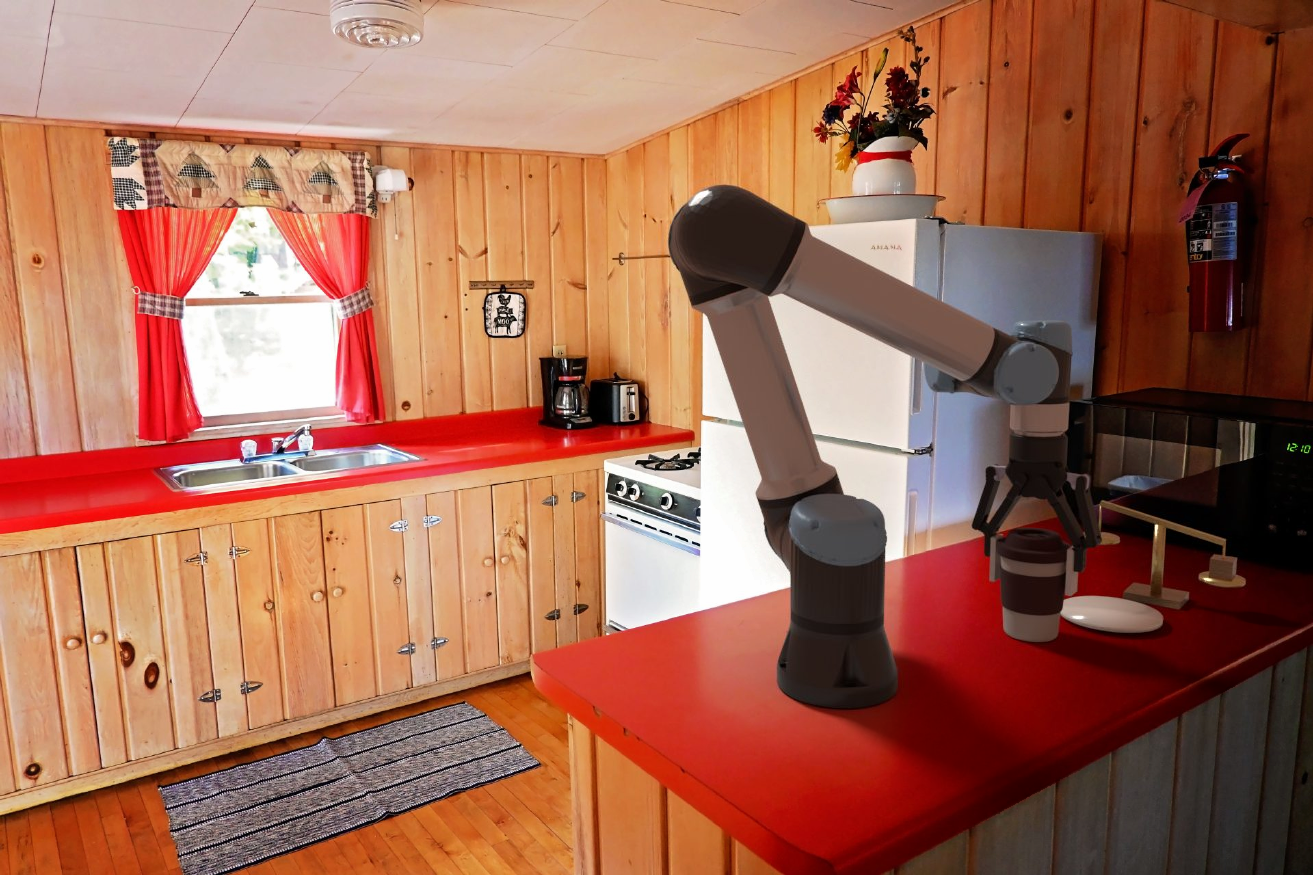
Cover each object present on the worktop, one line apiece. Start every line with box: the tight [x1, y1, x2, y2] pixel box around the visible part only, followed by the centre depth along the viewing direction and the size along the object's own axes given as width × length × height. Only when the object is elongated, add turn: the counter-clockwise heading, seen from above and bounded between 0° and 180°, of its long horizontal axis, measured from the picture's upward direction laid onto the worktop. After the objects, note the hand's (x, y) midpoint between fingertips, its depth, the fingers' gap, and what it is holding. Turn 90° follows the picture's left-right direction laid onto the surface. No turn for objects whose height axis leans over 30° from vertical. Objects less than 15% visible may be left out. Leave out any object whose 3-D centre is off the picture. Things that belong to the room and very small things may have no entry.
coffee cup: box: [996, 527, 1073, 643], centre depth 130 cm, size 10×10×15 cm
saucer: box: [1060, 595, 1164, 634], centre depth 136 cm, size 14×14×1 cm
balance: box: [1083, 499, 1247, 611], centre depth 143 cm, size 6×24×15 cm, turn 48°
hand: (1032, 585), depth 130 cm, fingers closed on coffee cup, 10 cm apart
